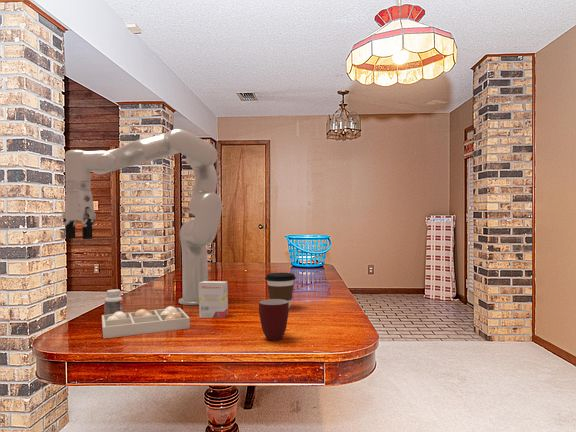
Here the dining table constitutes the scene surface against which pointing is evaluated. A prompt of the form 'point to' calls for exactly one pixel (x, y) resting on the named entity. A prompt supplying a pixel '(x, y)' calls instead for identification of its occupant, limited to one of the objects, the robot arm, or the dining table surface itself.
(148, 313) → the brown egg
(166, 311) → the cream egg
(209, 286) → the ink box
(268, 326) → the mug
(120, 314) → the cream egg
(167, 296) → the dining table surface
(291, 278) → the coffee cup
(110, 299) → the pill bottle
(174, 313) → the brown egg
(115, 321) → the grey compartment tray
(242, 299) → the dining table surface
